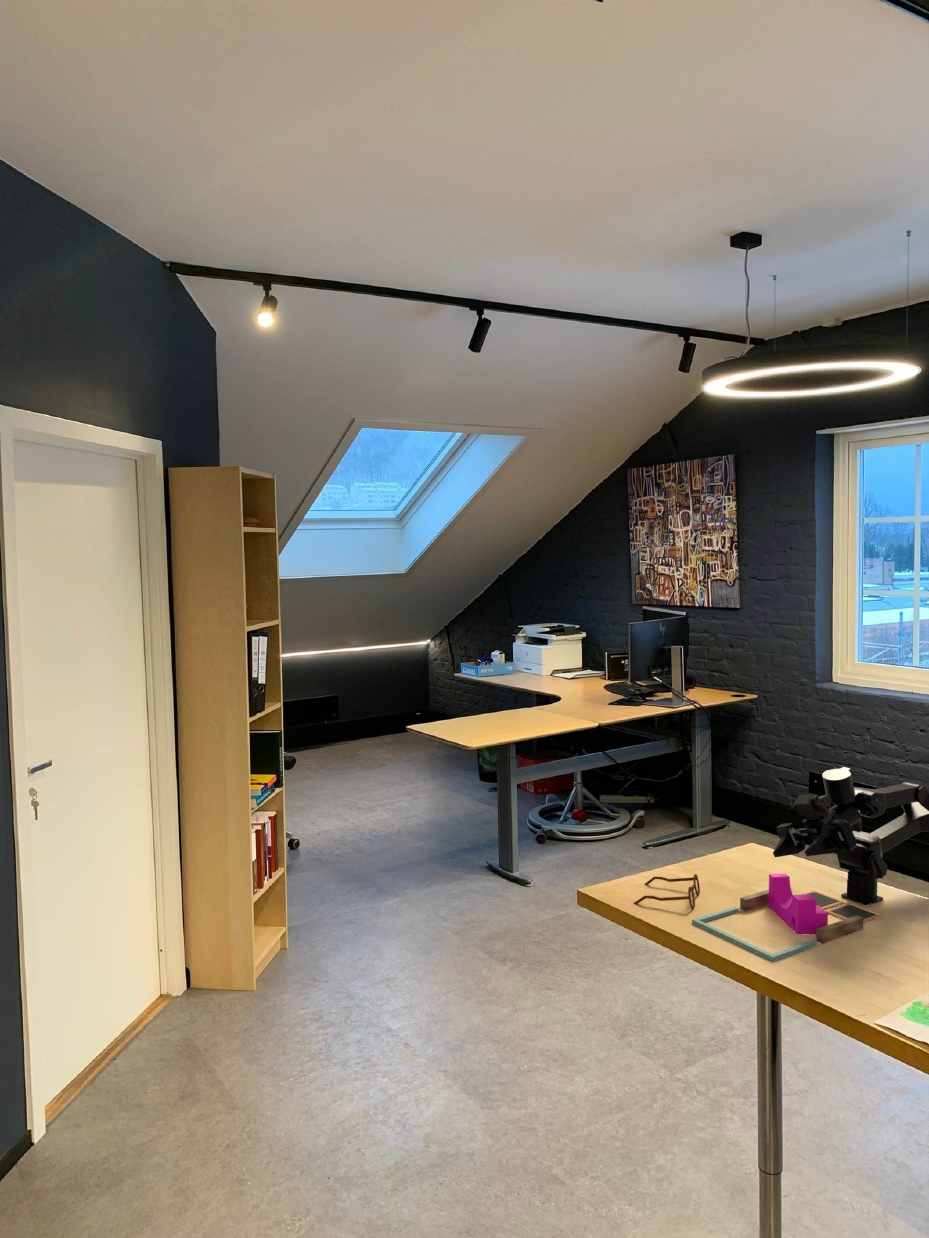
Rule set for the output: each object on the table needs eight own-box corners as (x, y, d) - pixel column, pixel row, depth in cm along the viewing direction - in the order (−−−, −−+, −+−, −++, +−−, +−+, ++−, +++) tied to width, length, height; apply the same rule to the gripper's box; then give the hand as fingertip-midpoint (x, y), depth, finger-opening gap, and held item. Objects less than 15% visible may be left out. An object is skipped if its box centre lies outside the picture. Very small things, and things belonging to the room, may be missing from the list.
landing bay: (735, 910, 196) (735, 906, 196) (817, 945, 178) (817, 941, 178) (692, 923, 189) (692, 919, 189) (772, 961, 171) (772, 957, 171)
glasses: (693, 914, 195) (693, 891, 195) (633, 905, 200) (633, 883, 200) (700, 892, 207) (700, 871, 207) (643, 885, 212) (644, 864, 212)
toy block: (827, 934, 183) (828, 898, 183) (797, 935, 183) (798, 899, 183) (796, 906, 198) (796, 873, 198) (768, 907, 198) (769, 873, 198)
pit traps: (813, 891, 206) (813, 889, 206) (881, 916, 192) (881, 914, 192) (790, 898, 202) (790, 897, 202) (857, 924, 188) (857, 923, 188)
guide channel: (780, 896, 203) (780, 886, 203) (863, 929, 185) (863, 917, 185) (740, 908, 197) (740, 897, 196) (822, 943, 179) (822, 931, 178)
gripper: (788, 791, 204) (742, 821, 197) (853, 783, 188) (805, 816, 180) (810, 836, 203) (765, 868, 196) (876, 832, 187) (830, 867, 180)
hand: (789, 854), depth 188 cm, fingers open, 9 cm apart
